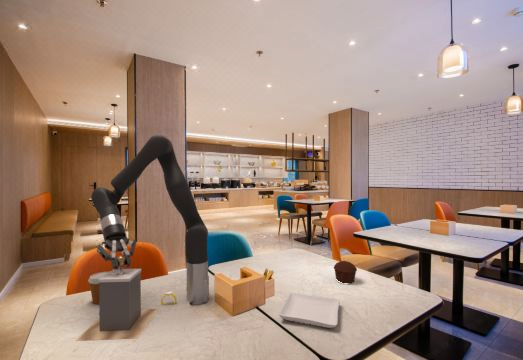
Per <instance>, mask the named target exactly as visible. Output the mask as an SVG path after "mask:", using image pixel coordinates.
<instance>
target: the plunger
mask: <svg viewBox="0 0 523 360" xmlns="http://www.w3.org/2000/svg"><path fill="white" fill-rule="evenodd" d="M115 258H117V262H118V269H119V275H123V269H124V266H126V256H124V255H123V254H122V255H118V256H116V257H115Z"/></svg>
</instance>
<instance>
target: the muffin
mask: <svg viewBox="0 0 523 360" xmlns="http://www.w3.org/2000/svg"><path fill="white" fill-rule="evenodd" d="M333 269H334V274H335V280H336V279H337V280H338V281H340V282H342V283H352V282H354V283H355V281H356V273H357V272H358V269H357V267H356V266H355V264H354V263H352V262H350V261H348V260H340V261H338V262H336V263H335V264H334V266H333ZM337 280H336V281H337ZM338 281H337V282H338ZM342 283H341V284H342Z"/></svg>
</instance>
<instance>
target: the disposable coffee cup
mask: <svg viewBox="0 0 523 360" xmlns="http://www.w3.org/2000/svg"><path fill="white" fill-rule="evenodd" d="M109 272H110V271H102V272H97V273H94V274H91V275H90V276H89V278H88V283H89V289H90V293H91V301H92V304H93V305H99V282H98V279H100V278H101V277H103V276H104V275H106V274H107V273H109Z"/></svg>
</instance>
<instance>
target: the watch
mask: <svg viewBox="0 0 523 360" xmlns="http://www.w3.org/2000/svg"><path fill="white" fill-rule="evenodd" d="M165 296H173V299H174V303H173V305H176V302H177V295H176V294H175V293H173V291H171V290H169V291H166V292H165V293H164V294H163V295H162V297H161V299H160V302H161V303H160V304H161V305H162V306H164V305H165V303H164V301H163V299H164V297H165Z"/></svg>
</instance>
